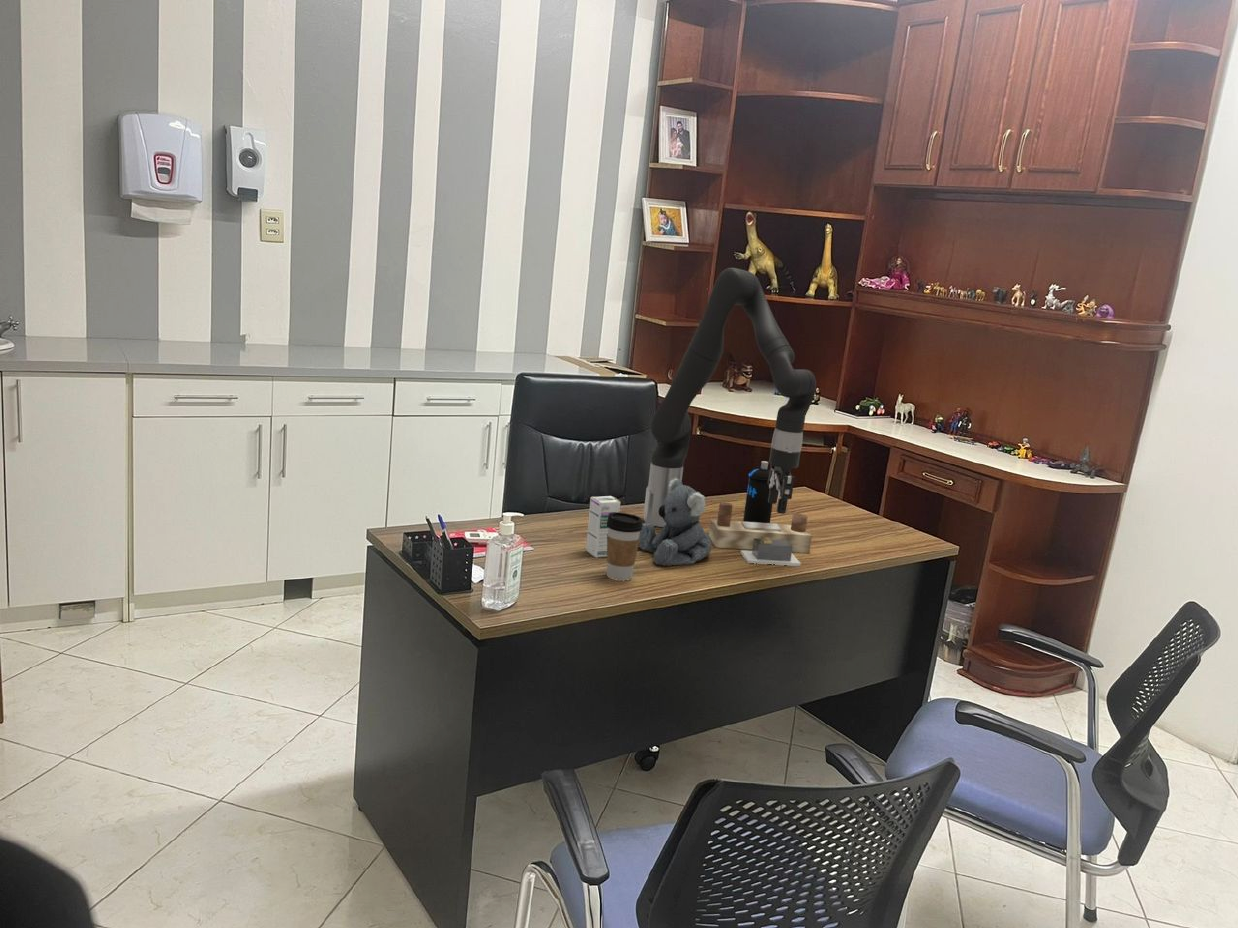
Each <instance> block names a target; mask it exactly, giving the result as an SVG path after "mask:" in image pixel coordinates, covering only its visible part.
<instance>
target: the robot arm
mask: <svg viewBox="0 0 1238 928" xmlns="http://www.w3.org/2000/svg"><path fill="white" fill-rule="evenodd" d="M762 287H763V286H762V284H761V283H760V280H759V278H758V277H757V276H756V274H755V273H752V272H751V271H748V270H745V269H740V268H738V267H737V268H736V267H728V268H725V269H724V270H722V271H721V272H720V273H719V275H717V278H716V280H715V282H714V285H713V287H712V290H711V293H710V295H709V299H708V301H707V304H706V307H705V309H704V312H703V315H702V316H701V319H700V322H699V324H698V326H697V328H696V331H695V332H694V334H693V337H692V339H691V341H690V343H689V345H688V346H687V348H686V351H685V353H684V355H683V357H682V360H681V362H680V364H679V367H678V369H677V371H676V373H675V374H674V375H675V376H674V378H673V379H672V382H671V385H670V387H669V389H668V390H667V391H668V392H666V395H665V396H664V399H662V401H661V403H660V404H659V406H658V408H657V409H656V411H655V412H654V414H653V417H652V418H651V422H650V432H651V435H652V436H653V438H654V439H655V440H656V441H658V443H657V445H656V447H655V449H654V450H653V452H652V453H651V458H650V465H649V466H650V467H649V474H648V475H649V476H648V477H649V478H648V485H647V487H646V489H645V501H644V508H643V518H642V520H643V521H644V523H647V524H648V523H650V524H652V525H653V526H654V527H659V528H663V527H664V526H665V525H666V523H665V521H664V520H663V518H662V517H661V516H660V515H659V508H660V506H661V505H662V504H663V503H664V501H665V499H666V497H667V495H668V494H669V483H670V481H671V480H672V479H674V478H677V479H678V480H680V481H681V482H683V481H682V480H683V472H684V463H685V459H686V458H687V455H688V452H689V447H690V440H691V432H692V420H691V416H690V415H689V413H688V410H689V408H690V405H691V404H692V402H693V401H694V400H695V398H696V397H697V395H699V393H700V392H701V391H702V389H704V387H705V386H706V385H707V384H708V382H709V381H710V380H711V378H712V376H713V375H714V373H715V371H716V369H717V367H718V366H719V363H720V360H721V359H722V356H723V353H724V344H725V343H724V341H725V335H724V334H725V325H726V323H727V321H728V318H729V315H730V313H731V312H732V310H733V308H734V307H735V306H739V307H741V308H742V309H743V311H744V312H745V313H746V314H747V316H748V317H749V319H750V320H751V323H752V326H753V330H754V336H755V338H754V339H755V342H756V344H757V347H758V349H759V351H760V353H761V354H762V356H763V358H764V360H765V362H767V364H768V365H769V370H770V374H771V377H772V381H773V384H774V387H775V388H776V390H777V392H778V393H779V394H780V395H781V396H782V397H784V398H787V399H788V401H787V403H786V404H783V405H782V406H781V407H779V409H778V411H777V414H776V419H775V427H774V431H773V434H772V439H771V446H770V451H769V453H770V454H769V459H768V464H769V465H770V466H769V467H770V469H769V470H770V473H769V478H768V484H769V489H770V492H769V498H768V502H769V503H770V504H773V505H776V504H777V505H776V513H777V514H782V515H784V514H786V513H787V508H788V507H787V505H788V501H789V500H792V499H793V491H794V486H795V485H794V484H795V476H794V475H792V473H791V471H792V469H797V468H799V465H800V459H801V458H800V457H801V452H802V446H803V436H804V435H803V434H804V426H805V421H806V416H807V414H808V412H809V410H810V407H811V404H812V401H813V400H814V397H815V393H816V390H817V380H816V377H815V374H814V373H813V372H812V371H811V370H809V369H805V368H804V369H799V368H798V369H795V368H794V367H793V365H792V364H793V363H794V361H795V359H796V355H795V354H796V353H795V352H794V350H793V348H792V347H791V344H790V343H789V341H788V340H787V338H786V336H785V335H784V333H783V332H782V330H781V328H780V327H779V324H778V322H777V321H776V319H775V316H774V314H773V312H772V310H771V307H770V305H769V302H768V300H767V298H766V295H765V292H764V290H763V288H762Z"/></svg>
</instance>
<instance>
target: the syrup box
mask: <svg viewBox="0 0 1238 928" xmlns="http://www.w3.org/2000/svg"><path fill="white" fill-rule="evenodd" d="M620 511H621V501H620V500H619V499H617V497H614V496H612V495H605V496H603V495H602V496H590V501H589V511H588V527H587V537H586V538H587V539H586V548H585V549H586V551H587V552H588V553H589V555H591V556H593V557H594V558H595V559H596V558H597V559H598V558H605V557H606V558H607V534H608V527H607V521H608V517H609V514H610V513H612V512H619V513H621V512H620Z"/></svg>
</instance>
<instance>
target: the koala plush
mask: <svg viewBox="0 0 1238 928" xmlns="http://www.w3.org/2000/svg"><path fill="white" fill-rule="evenodd" d="M705 496H706V495H703V494H701V492H700V491H696V489H694V488H692V487H691V486H689V485H685V484H684V485H683V481H680V480H678V479H677V478H674V479H672V480H671V481H670V483H669V494H668V495H667V497H666V499H665V501H664V503H663V504H662V505H661V506H660V508H659V515H660V516H661V517H662V518H663V520H664V521H665V523H666V525H665V526H664V527H661V529H660V530H659V531H658V532H657V533H656V528H655V526H653V525H652V524H650V523H648V524H647V523H645V522H644V523H642V525H643V527H642V530H641V531H640V535H639V537H640V540H639V544H638V548H639V549H641V551H645V552H649V553H653V562H654V563H655V564H656V565H657V566H658V565H660V566H662V565H663V567H673V566H672V565H674V566H675V565H677V566H682V565H690V564H691V565H693V564H695V563H696V562H699V561H701V560H702V559H704V558H705V557H707V556H709V555H710V553H711V549H712V541H711V540H710V538H709V534H707V533H706V531H705V530H704V529H703V527H702V525H701V524H700V517H701V515H702V514H704V513H705V511H706V509H707V508H706V497H705Z"/></svg>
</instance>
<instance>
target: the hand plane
mask: <svg viewBox="0 0 1238 928" xmlns="http://www.w3.org/2000/svg"><path fill="white" fill-rule="evenodd" d="M718 505H719V506H718V512H717V513H718V515H717V519H710V524H709V532H708V533H709V534H708V537H709V539H710V541H711V544H713V546H714V548H719V549H721V548H722V549H736V550H737V549H738V550H748V551H752V550H753V543H754V538H757V539H760V538H761V537H768V538H769V539H773V540H787V541H788V542H789V543H790V544H791V545H792V546H793V548H792V553H802V554H810V550H811V544H812V538H813V537H812V536H813V535H812V533H810V532H809V530H807V524H808V515H806V514H802V513H794V514H793V513H792V519H791V524H785V523H783V524H782V523H771V522H770V523H758V522H743V520H742V521H739V520H738V521H736V520H732V514H733V513H732V512H733V504H732V502H720V501H719V504H718Z"/></svg>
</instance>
